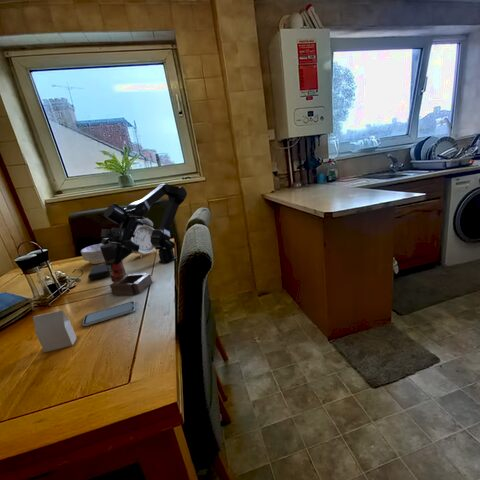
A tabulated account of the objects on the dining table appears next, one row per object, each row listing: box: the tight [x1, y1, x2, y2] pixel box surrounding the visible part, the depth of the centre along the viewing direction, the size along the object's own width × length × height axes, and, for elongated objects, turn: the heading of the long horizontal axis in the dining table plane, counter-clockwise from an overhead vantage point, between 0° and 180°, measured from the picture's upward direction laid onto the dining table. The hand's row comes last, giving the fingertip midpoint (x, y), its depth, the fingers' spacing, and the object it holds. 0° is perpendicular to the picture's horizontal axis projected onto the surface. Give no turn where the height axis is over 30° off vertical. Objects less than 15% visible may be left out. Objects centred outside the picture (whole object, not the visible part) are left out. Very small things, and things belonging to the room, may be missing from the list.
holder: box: [109, 272, 153, 297], centre depth 108 cm, size 11×11×4 cm
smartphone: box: [82, 301, 136, 327], centre depth 90 cm, size 7×1×15 cm
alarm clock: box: [129, 215, 157, 259], centre depth 147 cm, size 16×9×22 cm, turn 147°
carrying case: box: [87, 263, 110, 281], centre depth 129 cm, size 11×3×15 cm
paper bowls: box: [80, 243, 105, 265], centre depth 148 cm, size 15×15×8 cm
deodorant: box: [100, 243, 127, 283], centre depth 114 cm, size 6×6×15 cm
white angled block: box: [32, 309, 78, 353], centre depth 75 cm, size 4×7×10 cm, turn 107°
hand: (110, 263), depth 113 cm, fingers closed on deodorant, 6 cm apart
